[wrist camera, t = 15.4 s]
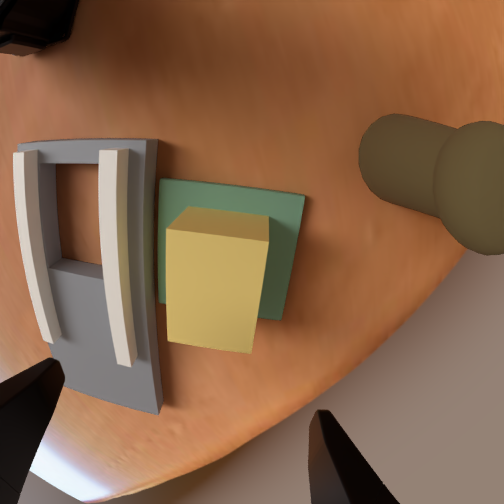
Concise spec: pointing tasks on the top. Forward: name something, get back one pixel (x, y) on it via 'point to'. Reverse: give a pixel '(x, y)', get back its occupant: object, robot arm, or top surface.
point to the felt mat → (246, 201)
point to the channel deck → (95, 268)
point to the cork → (441, 174)
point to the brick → (215, 277)
